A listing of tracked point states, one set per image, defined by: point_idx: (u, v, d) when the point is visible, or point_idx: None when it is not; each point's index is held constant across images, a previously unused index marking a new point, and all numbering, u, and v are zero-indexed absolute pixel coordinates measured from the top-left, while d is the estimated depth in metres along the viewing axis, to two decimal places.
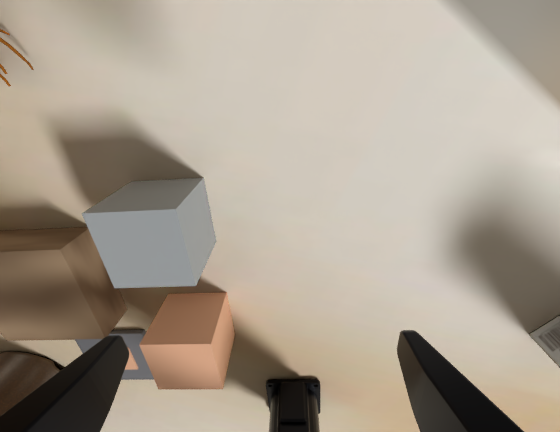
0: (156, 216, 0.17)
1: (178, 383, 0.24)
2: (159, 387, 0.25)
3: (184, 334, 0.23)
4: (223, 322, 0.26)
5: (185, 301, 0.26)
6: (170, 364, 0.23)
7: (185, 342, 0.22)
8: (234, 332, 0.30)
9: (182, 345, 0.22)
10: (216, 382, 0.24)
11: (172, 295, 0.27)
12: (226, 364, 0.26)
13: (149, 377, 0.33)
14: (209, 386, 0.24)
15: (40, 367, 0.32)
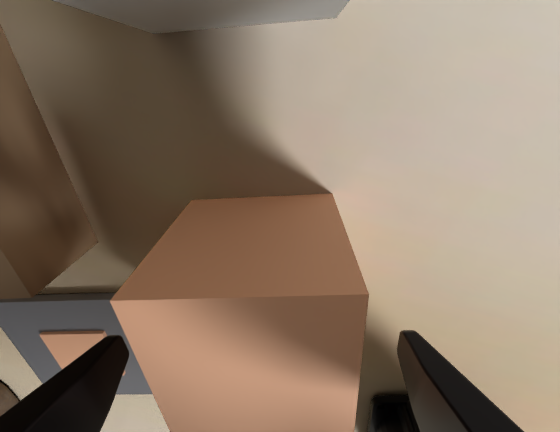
0: None
1: (229, 420, 0.09)
2: (174, 431, 0.09)
3: (259, 271, 0.07)
4: None
5: (237, 209, 0.11)
6: (210, 369, 0.07)
7: (272, 292, 0.06)
8: None
9: (263, 299, 0.06)
10: (342, 419, 0.08)
11: (201, 202, 0.11)
12: None
13: (147, 391, 0.17)
14: (315, 429, 0.09)
15: None
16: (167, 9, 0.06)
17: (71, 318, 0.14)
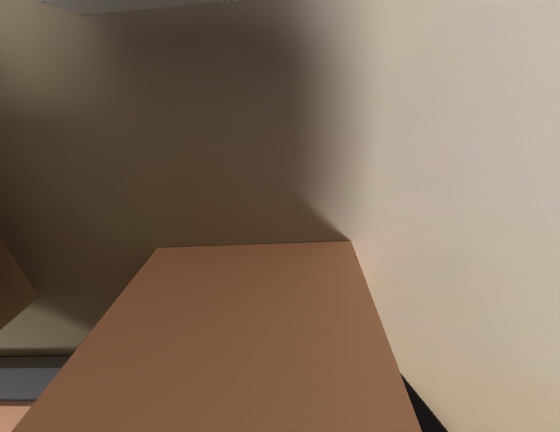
0: None
1: None
2: None
3: None
4: None
5: (216, 269, 0.07)
6: None
7: None
8: None
9: None
10: None
11: (169, 253, 0.08)
12: None
13: None
14: None
15: None
16: None
17: (12, 387, 0.11)
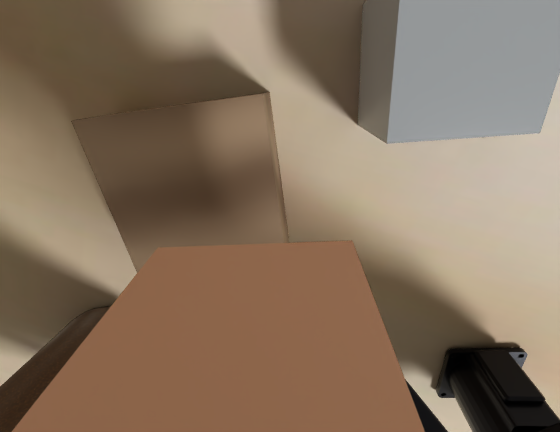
0: None
1: None
2: None
3: None
4: None
5: (217, 269, 0.07)
6: None
7: None
8: None
9: None
10: None
11: (170, 253, 0.08)
12: None
13: None
14: None
15: None
16: None
17: None
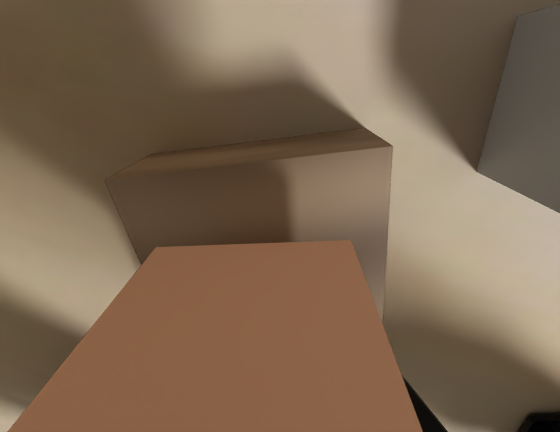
0: None
1: None
2: None
3: None
4: None
5: (215, 269, 0.07)
6: None
7: None
8: None
9: None
10: None
11: (168, 252, 0.08)
12: None
13: None
14: None
15: None
16: None
17: None
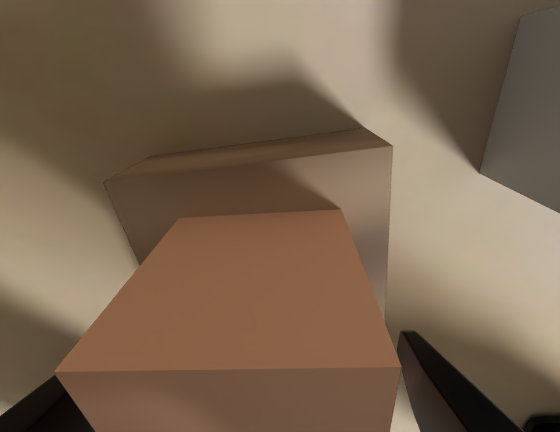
0: None
1: None
2: None
3: (252, 324, 0.05)
4: None
5: (229, 231, 0.09)
6: None
7: (270, 361, 0.05)
8: None
9: (257, 372, 0.05)
10: None
11: (190, 221, 0.10)
12: None
13: None
14: None
15: None
16: None
17: None
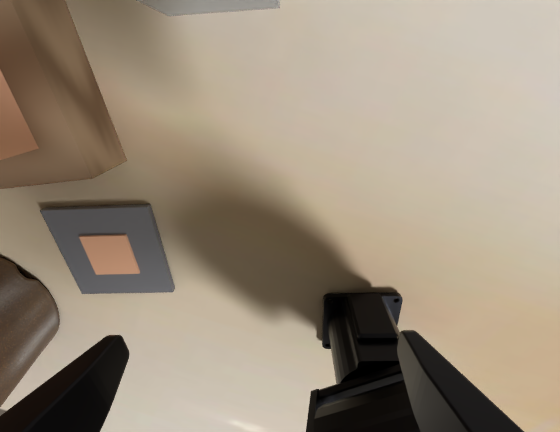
0: None
1: None
2: None
3: None
4: None
5: None
6: None
7: None
8: (33, 142, 0.14)
9: None
10: None
11: None
12: None
13: (156, 289, 0.23)
14: None
15: None
16: (180, 1, 0.12)
17: (103, 223, 0.20)
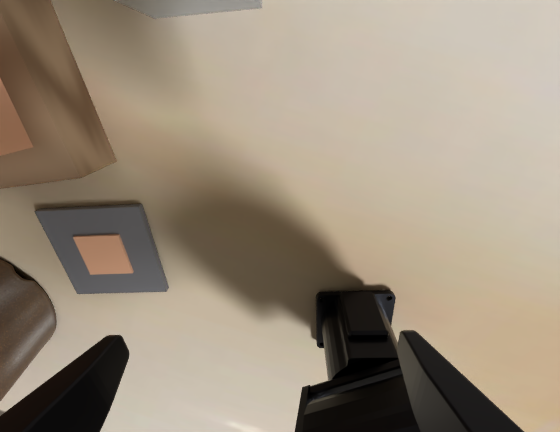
0: None
1: None
2: None
3: None
4: None
5: None
6: None
7: None
8: (28, 141, 0.15)
9: None
10: None
11: None
12: None
13: (149, 289, 0.23)
14: None
15: None
16: (162, 2, 0.12)
17: (96, 223, 0.20)
